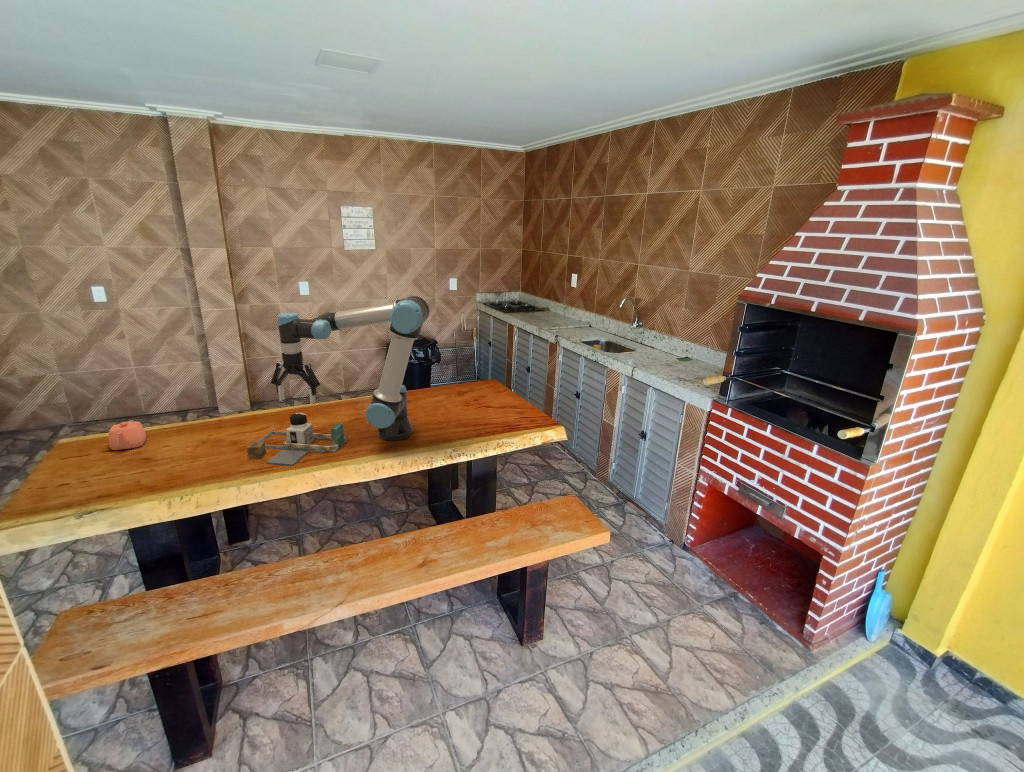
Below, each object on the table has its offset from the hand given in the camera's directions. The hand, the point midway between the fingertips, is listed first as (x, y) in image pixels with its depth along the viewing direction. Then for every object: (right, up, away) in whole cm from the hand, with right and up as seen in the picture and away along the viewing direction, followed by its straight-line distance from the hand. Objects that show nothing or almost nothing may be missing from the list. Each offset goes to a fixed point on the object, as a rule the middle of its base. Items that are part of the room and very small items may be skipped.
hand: (297, 401), depth 204 cm
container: (-1, -18, +7) cm, 19 cm away
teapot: (-70, -19, +1) cm, 73 cm away
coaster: (-1, -23, -7) cm, 24 cm away
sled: (+5, -18, +5) cm, 20 cm away
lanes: (-3, -18, +7) cm, 19 cm away
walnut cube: (-14, -22, -5) cm, 27 cm away
